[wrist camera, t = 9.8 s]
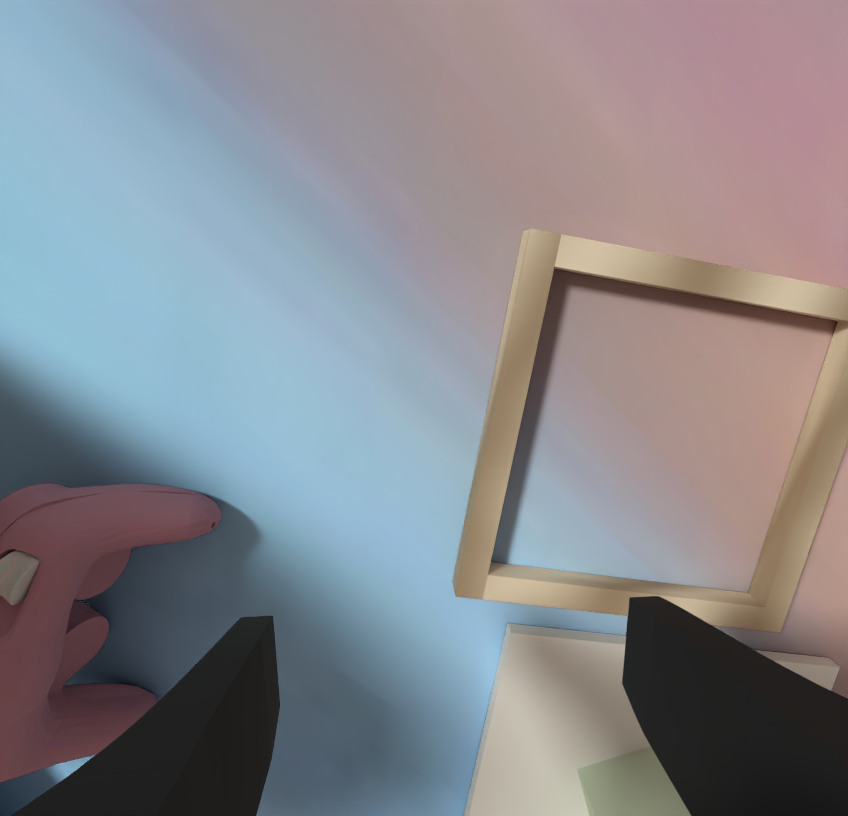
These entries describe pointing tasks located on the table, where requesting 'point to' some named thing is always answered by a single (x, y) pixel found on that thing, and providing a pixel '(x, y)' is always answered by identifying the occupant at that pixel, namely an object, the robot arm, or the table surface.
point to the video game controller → (73, 610)
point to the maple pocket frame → (538, 257)
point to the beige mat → (565, 718)
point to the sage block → (630, 787)
